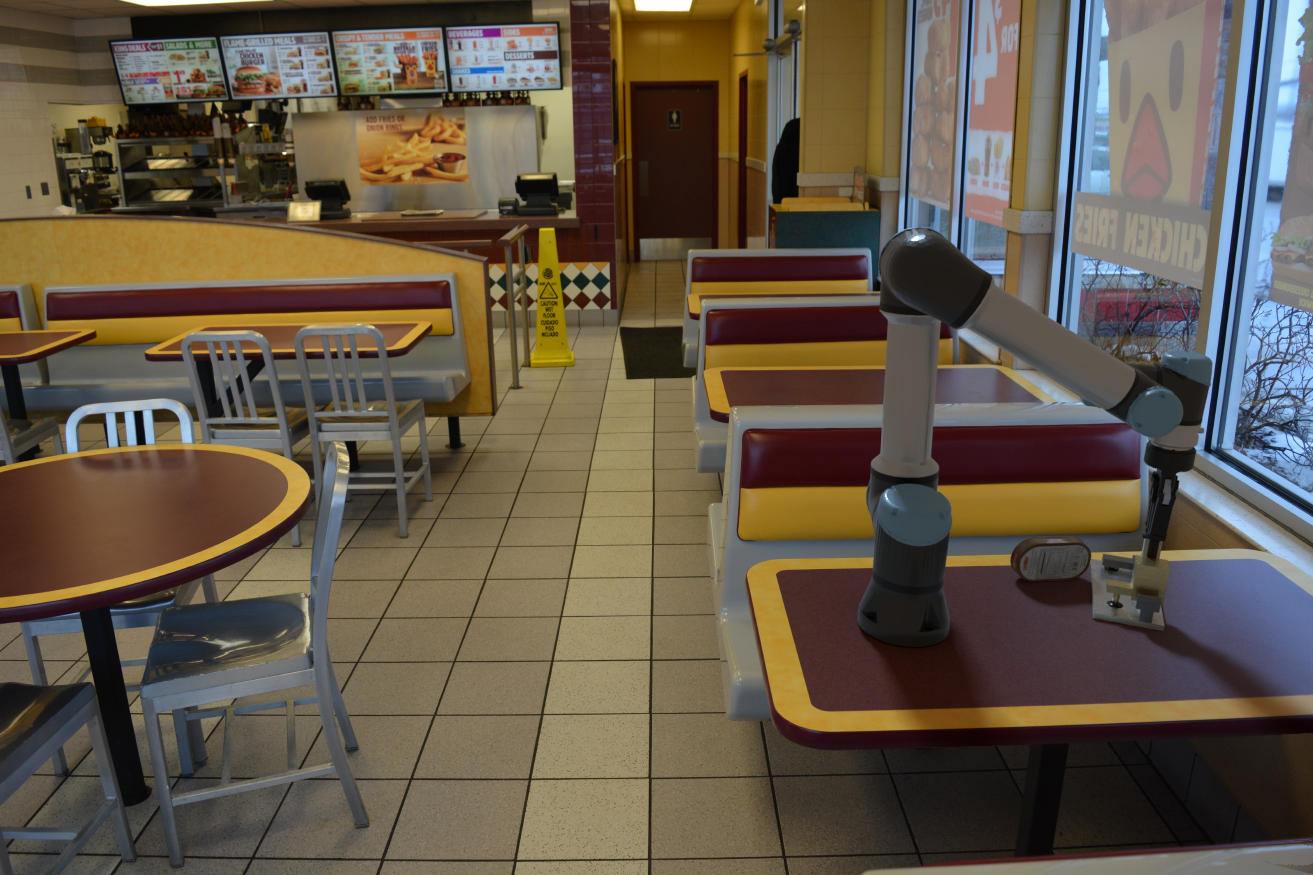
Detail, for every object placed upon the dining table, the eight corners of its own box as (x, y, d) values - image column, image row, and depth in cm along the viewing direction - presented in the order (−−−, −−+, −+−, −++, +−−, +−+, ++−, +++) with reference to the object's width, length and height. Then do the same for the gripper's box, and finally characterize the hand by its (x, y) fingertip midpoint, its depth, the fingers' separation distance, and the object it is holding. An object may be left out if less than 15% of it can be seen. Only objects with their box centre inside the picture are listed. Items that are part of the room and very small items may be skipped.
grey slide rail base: (1104, 614, 165) (1108, 590, 163) (1100, 560, 186) (1104, 538, 185) (1156, 624, 162) (1161, 599, 160) (1147, 567, 183) (1151, 545, 182)
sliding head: (1104, 606, 167) (1112, 559, 164) (1103, 597, 170) (1111, 551, 168) (1160, 616, 164) (1169, 569, 161) (1158, 606, 167) (1167, 559, 164)
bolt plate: (1092, 618, 166) (1093, 612, 165) (1090, 563, 187) (1091, 558, 187) (1163, 631, 162) (1164, 625, 161) (1153, 573, 183) (1154, 568, 183)
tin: (1081, 573, 183) (1088, 533, 180) (1090, 581, 180) (1097, 540, 177) (1006, 577, 181) (1012, 536, 178) (1014, 584, 178) (1020, 543, 175)
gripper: (1201, 458, 154) (1174, 590, 161) (1192, 436, 165) (1168, 560, 172) (1149, 452, 156) (1125, 582, 164) (1144, 430, 168) (1122, 553, 175)
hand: (1147, 571), depth 168 cm, fingers closed
